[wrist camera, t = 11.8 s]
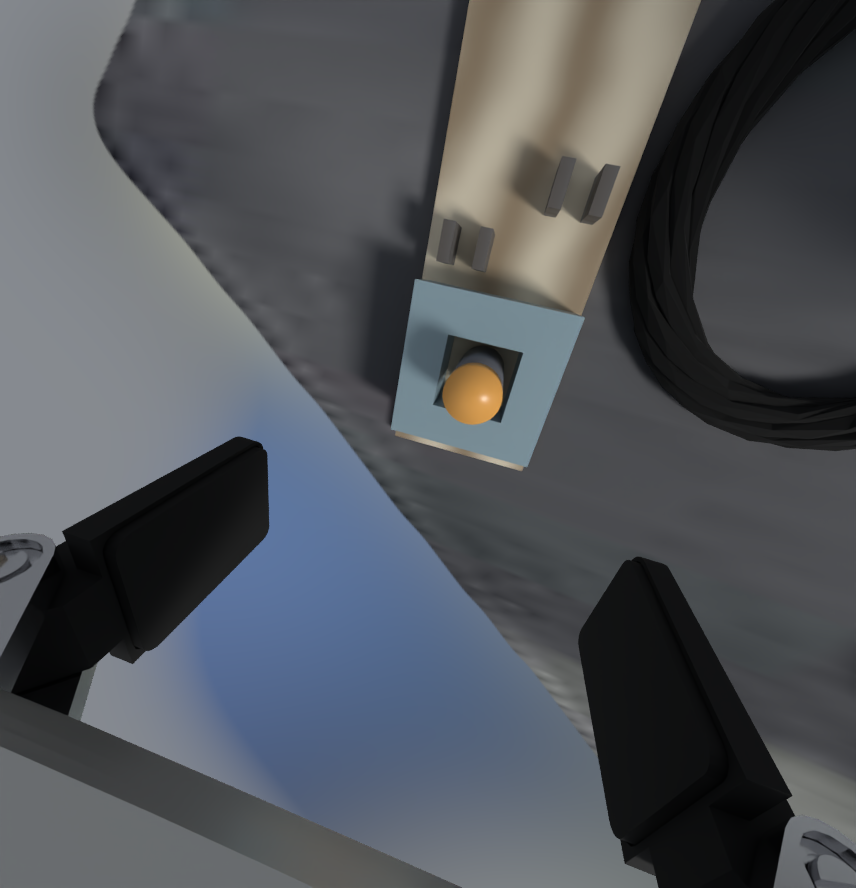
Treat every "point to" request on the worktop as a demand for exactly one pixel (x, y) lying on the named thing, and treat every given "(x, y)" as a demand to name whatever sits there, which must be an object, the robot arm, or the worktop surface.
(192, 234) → the worktop surface
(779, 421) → the cable lock
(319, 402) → the worktop surface
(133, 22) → the worktop surface
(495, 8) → the board
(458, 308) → the end holder
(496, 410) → the connector plug
